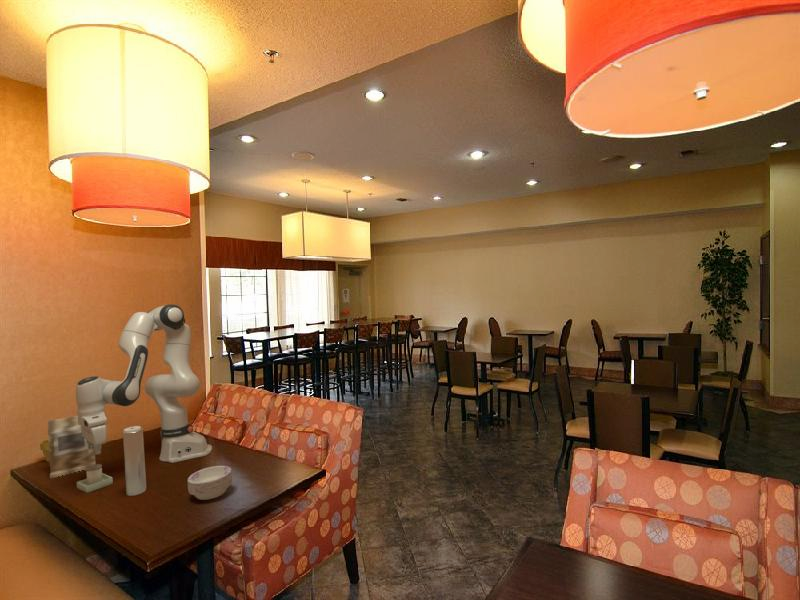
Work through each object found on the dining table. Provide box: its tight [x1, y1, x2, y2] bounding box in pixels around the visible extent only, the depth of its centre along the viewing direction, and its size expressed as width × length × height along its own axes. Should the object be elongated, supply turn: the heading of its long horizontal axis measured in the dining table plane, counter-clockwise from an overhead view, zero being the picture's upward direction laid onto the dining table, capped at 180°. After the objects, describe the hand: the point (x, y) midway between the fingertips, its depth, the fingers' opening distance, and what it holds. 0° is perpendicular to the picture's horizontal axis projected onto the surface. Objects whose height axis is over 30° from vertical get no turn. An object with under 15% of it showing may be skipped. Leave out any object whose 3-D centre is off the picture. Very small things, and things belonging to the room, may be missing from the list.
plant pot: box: [39, 439, 50, 462], centre depth 201 cm, size 10×10×10 cm
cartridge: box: [85, 463, 103, 486], centre depth 169 cm, size 5×5×7 cm
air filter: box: [122, 425, 147, 497], centre depth 161 cm, size 6×6×25 cm
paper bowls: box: [187, 465, 233, 501], centre depth 156 cm, size 15×15×8 cm
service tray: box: [76, 472, 114, 494], centre depth 169 cm, size 9×9×2 cm
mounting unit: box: [47, 415, 97, 479], centre depth 187 cm, size 16×10×23 cm, turn 127°
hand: (94, 451), depth 169 cm, fingers open, 8 cm apart
